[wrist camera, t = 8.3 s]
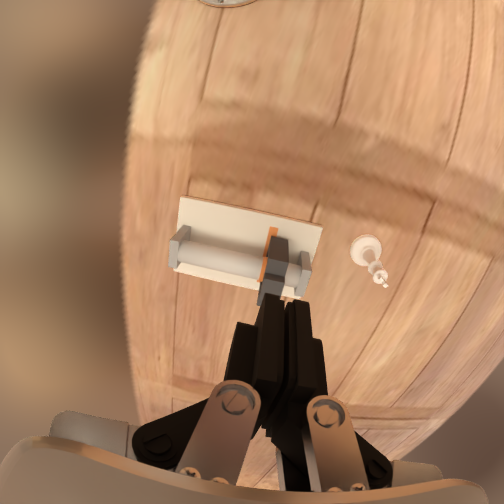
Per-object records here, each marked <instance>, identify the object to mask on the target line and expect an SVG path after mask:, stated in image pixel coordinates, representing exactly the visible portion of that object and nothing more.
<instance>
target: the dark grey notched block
mask: <svg viewBox="0 0 504 504" xmlns="http://www.w3.org/2000/svg"><path fill="white" fill-rule="evenodd" d="M266 257H268V259H267V265H266V269H265V273H264V277H263V281H262V282H260V287H259V293H258V300H257V305H258V306H261V303H262V300H263V297H264V294H265V292H266V293H270V294H275V295H279V296H280V298H281V294H282V291H283V288H284V284H285V275H286V271H287V268H288V265H289V246H288V240H287V239H283V238H278V237H274V236H271V238H270V242H269V247H268V251H267V255H266Z"/></svg>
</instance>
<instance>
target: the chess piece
mask: <svg viewBox="0 0 504 504" xmlns="http://www.w3.org/2000/svg"><path fill="white" fill-rule="evenodd" d="M381 252H382V247H381V244H380V241H379V240H378V239H377V238H376V237H375V236H373V235H370V234H365V235H361V236H359V237H357V238H356V239H355V240H354V241H353V242H352V244H351V247H350V256H351V258H352V260H353V261H354V262H355V263H356V264H358V265H360V266H368V271H369V273H370V274H372V275H373V281H374V282H375V283H377V284H381V283H382V285H383V286H384V288H386V287H387V286H388V284H387V283H386V282H385V281H386V280H387V277H388V274H387V272H386V271H385V270H384V269H383V264H382V262H381V261H378V259H379V257H380V255H381Z"/></svg>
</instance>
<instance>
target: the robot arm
mask: <svg viewBox="0 0 504 504" xmlns="http://www.w3.org/2000/svg"><path fill="white" fill-rule="evenodd" d="M199 1H200V2H202V3H204V4H207V5H210V6H214V7H236V6H242V5H245V4H248V3H251V2H253V1H256V0H199ZM221 2H223V3H221ZM261 424H262V425H261ZM260 426H261V427H262V428H263V429H266V437H271V442H272V443H273V444H274V445H275V446H276V461H277V470H278V479H279V488H280V491H277V490H266V489H257V488H249V487H242V486H236V483H237V480H238V477H239V474H240V471H241V468H242V465H243V462H244V458H245V455H246V452H247V449H248V446H249V443H250V440H251V439H253V438H254V436H255V434H256V433H257V431H258V429H259V428H260ZM0 504H489V502H488V498H487V496H486V493H485V491H484V490H483V489H482V488H481V487H480V486H479V485H477V484H475V483H473V482H470V481H466V480H460V479H443V477H442V473H441V471H440V469H439V468H438V467H437V466H435V465H431V464H423V463H414V462H407V461H400V460H393V461H389V460H388V459H387V458H386V457H385V456H384V455H383V454H381V453H380V452H379V451H378V450H377V449H375V448H374V447H373V446H372V445H371V444H369V443H368V442H367V441H366V440H365V439H364V438H362V437H361V436H360V435H359V434H358V433H357V432H355V431H354V428H353V425H352V421H351V418H350V414H349V411H348V409H347V407H346V406H345V405H344V404H343V402H341V401H340V400H338V399H337V398H335V397H332V396H328V391H327V381H326V371H325V362H324V354H323V345H322V341H321V340H320V339H316V338H313V336H312V326H311V316H310V306H309V303H308V302H305V301H301V300H296V299H294V300H293V302H288V303H287V305H286V307H285V310H284V301H283V300H280V296H279V295H275V294H270V293H266V292H265V294H264V297H263V300H262V303H261V306H260V309H259V313H258V316H257V319H256V322H255V325H250V324H245V323H241V322H237V325H236V329H235V332H234V336H233V340H232V344H231V348H230V353H229V357H228V362H227V367H226V371H225V376H224V381H223V382H221V383H219V384H218V385H216V386H215V388H214V389H213V391H212V392H211V395H210V397H209V398H207V399H205V400H203V401H201V402H198V403H196V404H194V405H192V406H189V407H187V408H185V409H182V410H180V411H177V412H175V413H173V414H170V415H168V416H165V417H163V418H160V419H158V420H155V421H152V422H150V423H147V424H145V425H143V426H134V425H129V424H128V422H123V421H117V420H111V419H106V418H101V417H96V416H91V415H87V414H83V413H78V412H74V411H64V412H60V413H59V414H57V415H56V416H55V417H54V419H53V421H52V424H51V428H50V433H49V436H33V437H27V438H24V439H22V440H21V441H19V442H18V443H17V444H16V445H15V446H14V447H13V448H12V449H11V450H10V451H9V453H8V454H7V455H6V457H5V458H4V460H3V461H2V463H1V465H0Z"/></svg>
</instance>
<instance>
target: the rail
mask: <svg viewBox="0 0 504 504" xmlns="http://www.w3.org/2000/svg"><path fill="white" fill-rule="evenodd" d="M322 229H323V227H322V225H318V224H314V223H310V222H306V221H302V220H298V219H293V218H289V217H285V216H280V215H276V214H271V213H267V212H263V211H258V210H253V209H249V208H244V207H239V206H235V205H230V204H225V203H220V202H215V201H210V200H205V199H200V198H195V197H190V196H185V195H182V196H181V197H180V205H179V214H178V224H177V232H176V234H175V235H174V236H173V237H172V238H171V239H170V247H169V262H168V267H171V268H174V271H176V272H180V273H184V274H189V275H193V276H197V277H201V278H205V279H210V280H214V281H218V282H223V283H227V284H231V285H236V286H240V287H245V288H249V289H254V290H258V291H259V287H260V282H262V281H263V277H264V273H265V269H266V265H267V259H268V257H266V255H267V251H268V247H269V242H270V238H271V236H274V237H278V238H283V239H287V240H288V246H289V265H288V268H287V271H286V275H285V284H284V288H283V291H282V294H281V295H282V296H287V297H291V298H296V299H300V297H303V296H304V294H305V291H306V288H307V285H308V282H309V279H310V276H311V273H312V268H311V264H312V261H313V258H314V255H315V252H316V249H317V246H318V242H319V239H320V236H321V233H322Z"/></svg>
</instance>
